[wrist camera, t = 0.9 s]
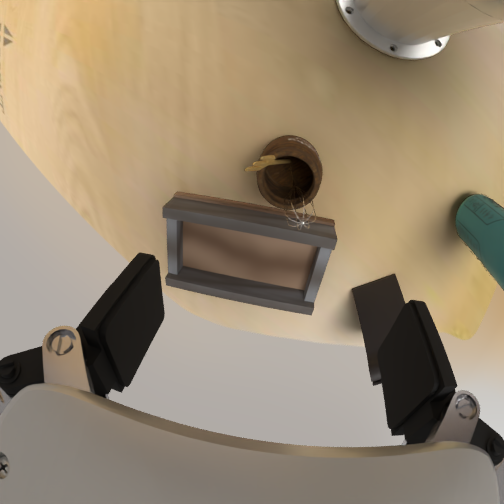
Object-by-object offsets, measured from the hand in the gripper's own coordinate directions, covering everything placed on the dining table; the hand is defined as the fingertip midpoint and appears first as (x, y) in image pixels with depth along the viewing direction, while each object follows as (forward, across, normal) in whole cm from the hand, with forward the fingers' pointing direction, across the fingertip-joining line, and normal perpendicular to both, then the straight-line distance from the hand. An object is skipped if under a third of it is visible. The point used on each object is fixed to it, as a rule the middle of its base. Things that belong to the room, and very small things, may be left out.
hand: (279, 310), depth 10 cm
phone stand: (+22, -15, +16) cm, 31 cm away
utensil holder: (+21, 0, -1) cm, 21 cm away
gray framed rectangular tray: (+21, +4, +10) cm, 24 cm away
